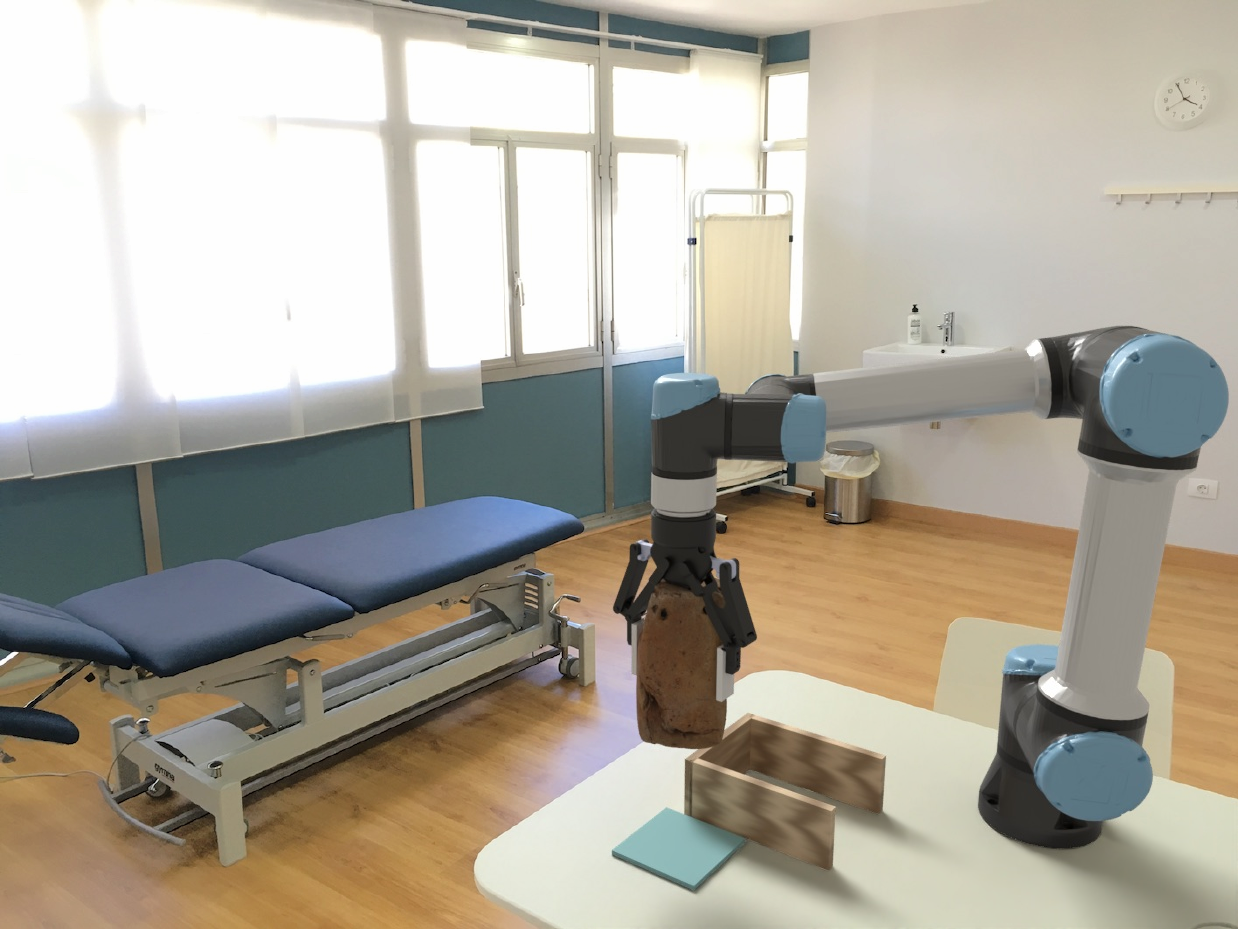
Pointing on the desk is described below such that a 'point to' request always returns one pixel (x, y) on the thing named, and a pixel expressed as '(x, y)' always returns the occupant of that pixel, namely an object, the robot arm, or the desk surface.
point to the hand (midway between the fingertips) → (681, 683)
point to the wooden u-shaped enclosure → (773, 810)
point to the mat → (679, 848)
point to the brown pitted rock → (679, 671)
